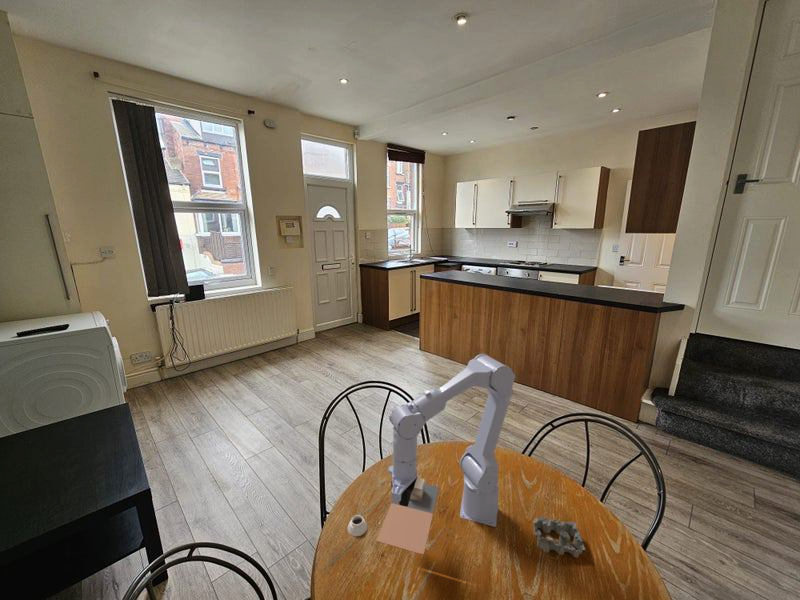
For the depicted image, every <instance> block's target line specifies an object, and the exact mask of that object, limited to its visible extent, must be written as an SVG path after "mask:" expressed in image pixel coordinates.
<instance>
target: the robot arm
mask: <svg viewBox="0 0 800 600" xmlns="http://www.w3.org/2000/svg"><path fill="white" fill-rule="evenodd" d="M515 379H516V375H515V373H514V371H513V370H512V368H511V367H509V366H508V365H505V364H503V363H501V362H500V361H499V360H496V359H494V358H493V357H491V356H489V355H488V354H487V353H480V354H478V355H476V356H475V357H474V358H473V359H470V360H469V361H468V363H467V366H466V367H465V368H464V369H463V370H461V371H460V372H459V373H458V374H456V375H455V376H454V377H453V378H450V380H449V381H447V382H446V383H445V384H443V385H442V386H440V387H439V388H429V389H425V390H424V391H423V393H421V394H420V395H419V396H417V397H416V398H414V399H412V400H411V401H409V402H408V403H406V404H399V405H397V406H396V407H394V409H392V411H391V414H390V415H389V416H388V418H389V422H390V423H391V424H392V425H393V428H392V429H393V430H392V431H393V432H392V433H393V434H392V435H393V436H392V465H390V466H389V467H388V469H387V472H388V473H389V474H390V475H391V477H392V478H391V483H390V484H391V485H390V486H391V487H392V490H391V500H394V501H398V502H399V504H400V505H402V506H406V507H407V506H408V504H409V501H410V497H411V492H412V491H413V489H414V486H415V483H416V480H417V478H418V469H417V468H418V466H417V465H418V464H417V462H418V461H417V460H418V459H417V457H418V435H419V434H420V433H421V432H422V429H423V427H424V426H425V425H426V423H427V422H428V421H429V420H431V419H433V418H434V417H436V416H437V415H438V414H440V413H441V412H442V411H445V409H446V405H447V402H448V401H450V400H452V399H453V398H455V397H458V396H459V395H461V394H462V393H464V392H466V391H468V390H469V389H471V388H473V387H478V388H481V389H482V388H483V389H487V391H488V392H489V393H488V395H487V399H486V403H485V405H484V410H483V413H482V416H481V420H480V423H479V427H478V430H477V433H476V437H475V441H474V444H473V445H469V446H466V448H465V452H464V454H462V456H461V457H460V460H459V467H460V469H461V470H462V472H463V475H462V476H463V492H462V493H463V495H462V496H461V497H462V498H461V503H460V511H459V517H460V518H461V519H465V520H468V521H472V522H476V523H480V524H484V525H486V526H490V527H494V528H496V527H497V523H498V521H497V519H498V513H499V484H498V481H499V476H498V474H499V470H500V466H499V464H498V461H497V459H496V455H495V452H496V449H497V445H498V442H499V439H500V435H501V431H502V428H503V425H504V423H505V418H506V415H507V412H508V408H509V405H510V401H511V399H512V395H513V390H514V389H513V385H514V382H515Z"/></svg>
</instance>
